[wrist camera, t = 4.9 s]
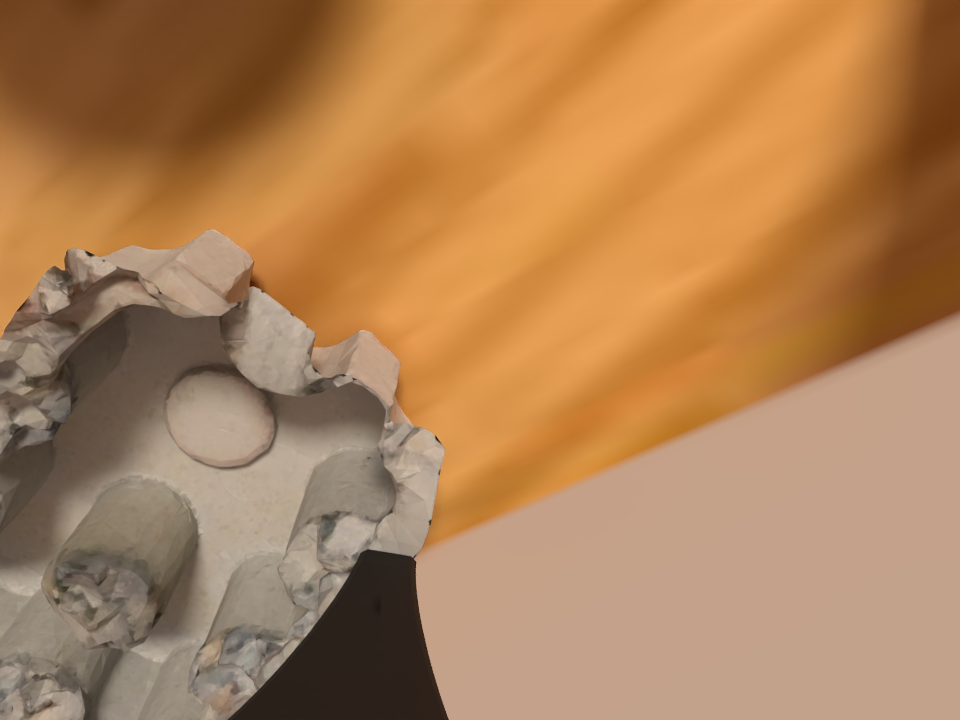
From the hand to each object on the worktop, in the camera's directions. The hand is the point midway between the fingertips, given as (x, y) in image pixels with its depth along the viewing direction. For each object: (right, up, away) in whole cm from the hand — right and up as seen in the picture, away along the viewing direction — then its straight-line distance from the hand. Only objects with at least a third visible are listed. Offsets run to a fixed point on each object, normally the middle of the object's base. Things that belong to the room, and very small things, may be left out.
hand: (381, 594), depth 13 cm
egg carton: (-7, +3, +4) cm, 8 cm away
